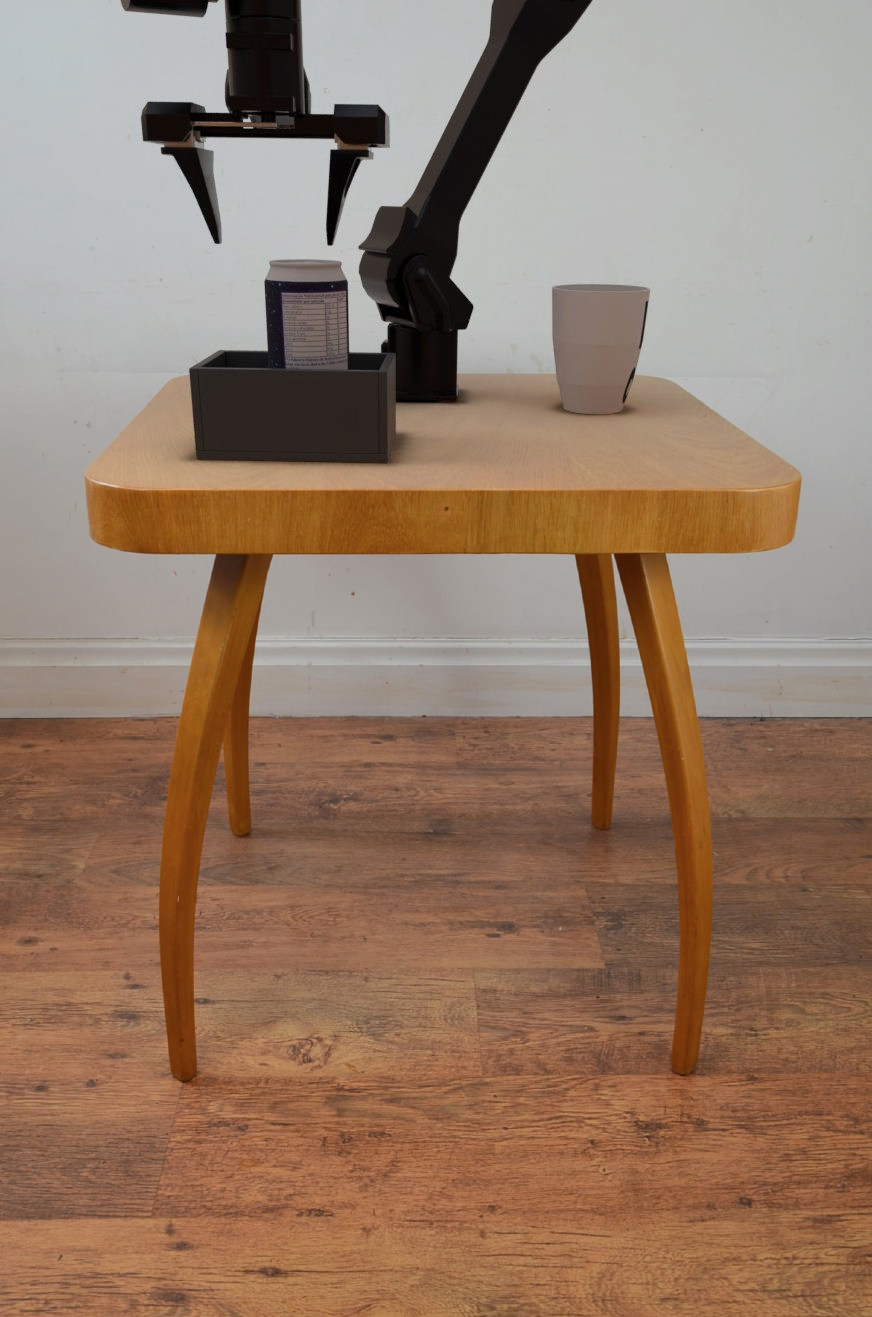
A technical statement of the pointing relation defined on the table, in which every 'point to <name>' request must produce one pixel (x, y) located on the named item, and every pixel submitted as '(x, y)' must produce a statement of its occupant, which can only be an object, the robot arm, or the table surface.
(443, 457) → the table surface
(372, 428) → the open storage box
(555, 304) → the cup
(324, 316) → the beverage can
